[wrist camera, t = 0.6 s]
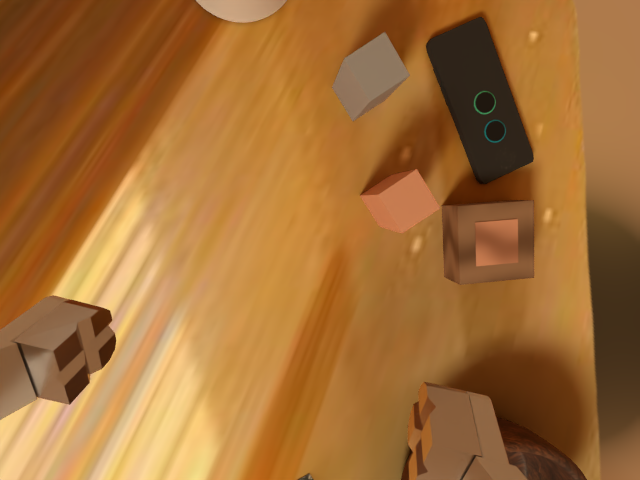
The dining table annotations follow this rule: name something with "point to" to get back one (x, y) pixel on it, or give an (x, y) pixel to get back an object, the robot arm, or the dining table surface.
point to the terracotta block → (400, 201)
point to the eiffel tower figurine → (307, 477)
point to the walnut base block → (488, 241)
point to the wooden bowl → (530, 455)
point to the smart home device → (480, 100)
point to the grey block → (369, 76)
